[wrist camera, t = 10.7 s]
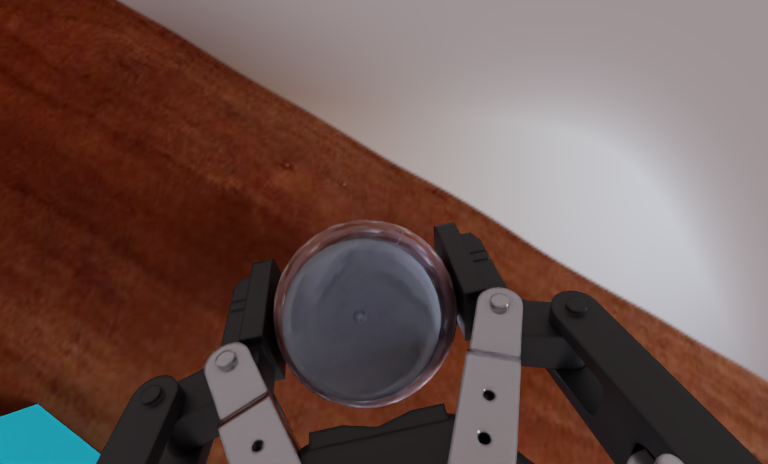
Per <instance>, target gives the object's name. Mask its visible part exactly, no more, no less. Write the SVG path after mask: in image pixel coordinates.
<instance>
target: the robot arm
mask: <svg viewBox="0 0 768 464" xmlns="http://www.w3.org/2000/svg"><path fill="white" fill-rule="evenodd" d="M434 240H435V252H436V253H437V254H438V255H439V257H440V258H441V259H442V261H443V263H444V265H445V266H446V268H447V270H448V272H449V274H450V276H451V279H452V282H453V285H454V289H455V293H456V299H457V314H458V315H457V320H458V323H459V325H460V328H461V331H462V333H463V336H464V339H465V341H467V340H471V341H470V347H469V350H467V353H466V357H465V363H464V369H463V375H462V381H461V387H460V393H459V399H458V405H457V411H456V414H450V413H446V409H445V406H444V403H443V404H439V405H434V406H429V407H425V408H420V409H416V410H411V411H409V412H407V413H405V414H403V415H401V416H399V417H397V418H395V419H393V420H391V421H389V422H387V423H385V424H383V425H381V426H378V427H365V426H344V425H342V426H338V427H333V428H328V429H324V430H319V431H315V432H310V433H309V444H308V445H306V446H304V447H303V448H301V446H300V445H299V443H298V441H297V439H296V437H295V435H294V433H293V431H292V429H291V427H290V425H289V422H288V420H287V418H286V416H285V414H284V412H283V410H282V408H281V406H280V404H279V402H278V400H277V398H276V396H275V394H274V382H275V381H277V380H281V379H285V368H286V361H285V360H284V358H283V356H282V354H281V351H280V349H279V347H278V344H277V340H276V335H275V330H274V322H273V309H274V298H275V294H276V289H277V286H278V283H279V280H280V277H281V272H280V270H279V267H278V265H277V263H276V261H275V259H268V260H264V261H259V262H254V263H253V264H252V268H251V274H250V277H249V278H244V279H241V280H240V282H239V283H238V285H237V286H236V287H235V289H234V290H233V295H232V299H231V304H230V308H229V313H228V317H227V321H226V326H225V330H224V335H223V339H222V344H221V347H220V348H218V349H217V350H215V351H214V352H213V353H212V354H211V355H210V357H209V358H208V359H207V361H206V363H205V367H204V368H203V369H202V370H200V371H198V372H196V373H194V374H192V375H190V376H188V377H186V378H184V379H182V380H180V381H178V382H177V381H176V380H175V379H174V378H173V377H171V376H168V375H162V376H158V377H155V378H153V379H150V380H149V381H147V382H146V383H144V384H143V385H142V386H140V387H139V388H138V389H137V390H136V392H135V393H134V394H133V396H132V397H131V399H130V401H129V403H128V404H127V406H126V408H125V410H124V412H123V414H122V416H121V418H120V419H119V421H118V423H117V425H116V427H115V429H114V431H113V433H112V434H111V436H110V438H109V440H108V442H107V444H106V446H105V447H104V449H103V451H102V453H101V455H100V457H99V459H98V461H97V462H96V464H206V461H207V458H208V455H209V452H210V449H211V446H212V443H213V440H214V438H216V437H218V436H220V437H221V440H222V444H223V447H224V450H225V453H226V456H227V459H228V462H229V464H534V463H532V462H531V461H530V460H529V459H527V458H526V457H525V456H524V455H522V454H521V453H520V452H518V451H517V440H518V419H519V397H520V376H521V366H530V367H541V368H546V370H547V371H548V372H549V374H550V375H551V377H552V378H553V379H554V381H555V382H556V383H557V385H558V386H559V387H560V389H561V390H562V392H563V393H564V394H565V396H566V397H567V398H568V400H569V401H570V403H571V404H572V405H573V407H574V408H575V409H576V411H577V412H578V414H579V415H580V416H581V418H582V419H583V420H584V422H585V423H586V424H587V426H588V427H589V429H590V430H591V431H592V433H593V434H594V435H595V437H596V438H597V440H598V441H599V442H600V444H601V445H602V446H603V448H604V449H605V450H606V452H607V453H608V455H609V456H610V457H611V459H612V460H613V461H614V463H615V464H762V463H761V462H760V461H759V460H758V459H756V458H755V457H754V456H753V455H752V454H751V453H750V452H749V451H748V450H747V449H746V448H745V447H744V446H743V445H742V444H741V443H740V442H739V441H738V440H737V439H736V438H735V437H734V436H733V435H732V434H731V433H730V432H729V431H728V430H727V429H726V428H725V427H724V426H723V425H722V424H721V423H720V422H719V421H718V420H717V419H716V418H715V417H714V416H713V415H712V414H711V413H710V412H709V411H708V410H707V409H706V408H705V407H704V406H703V405H702V404H701V403H700V402H699V401H698V400H697V399H695V398H694V397H693V396H692V395H691V394H690V393H689V392H688V391H687V390H686V389H685V388H684V387H683V386H682V385H681V384H680V383H679V382H678V381H677V380H676V379H675V378H674V377H673V376H672V375H671V374H670V373H669V372H668V371H667V370H666V369H665V368H664V367H663V366H662V365H661V364H660V363H659V362H658V361H657V360H656V359H655V358H654V357H653V356H652V355H651V354H650V353H649V352H648V351H647V350H646V349H645V348H644V347H643V346H642V345H641V344H640V343H639V342H638V341H637V340H635V339H634V338H633V337H632V336H631V335H630V334H629V333H628V332H627V331H626V330H625V329H624V328H623V327H622V326H621V325H620V324H619V323H618V322H617V321H616V320H615V319H614V318H613V317H612V316H611V315H610V314H609V313H608V312H607V311H606V310H605V309H604V308H603V307H602V306H601V305H600V304H599V303H598V302H597V301H596V300H595V299H593V298H592V297H591V296H589V295H587V294H585V293H582V292H578V291H564V292H561V293H558V294H557V295H555V296H554V297H553V299H552V301H551V302H536V301H528V300H524V299H521V298H520V297H519V296H518V295H517V294H516V293H515V292H513V291H511V290H509V289H507V287H506V285H505V284H504V282H503V280H502V278H501V276H500V275H499V273H498V271H497V269H496V267H495V266H494V264H493V262H492V260H491V259H490V257H489V255H488V253H487V251H486V249H485V248H484V246H483V244H482V242H481V240H480V239H478V238H477V237H476V236H474V235H473V234H471V233H465V234H461V235H460V233H459V231H458V229H457V227H456V225H455V224H454V222H452V223H447V224H442V225H437V226H434Z"/></svg>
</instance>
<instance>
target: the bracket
mask: <svg viewBox="0 0 768 464" xmlns="http://www.w3.org/2000/svg"><path fill="white" fill-rule="evenodd" d="M100 455H101V454H100V453H98V452H97V451H96V450H95V449H93V448H92V447H91V446H90V445H88V444H87V443H86V442H85V441H83V440H82V439H81V438H80V437H78V436H77V435H76V434H75V433H73V432H72V431H71V430H70V429H68V428H67V427H66V426H65V425H63V424H62V423H61V422H60V421H58V420H57V419H56V418H55V417H53V416H52V415H51V414H50V413H48V412H47V411H46V410H45V409H43V408H42V407H41V406H40V405H38V404H36V405H33V406H30V407H27V408H24V409H21V410H19V411H16V412H13V413H10V414H7V415H4V416H1V417H0V464H96V462H97V461H98V459H99V457H100Z"/></svg>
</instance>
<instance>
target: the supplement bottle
mask: <svg viewBox="0 0 768 464" xmlns="http://www.w3.org/2000/svg"><path fill="white" fill-rule="evenodd" d="M457 315H458V314H457V299H456V293H455V289H454V285H453V282H452V279H451V276H450V274H449V272H448V270H447V268H446V266H445V265H444V263H443V261H442V259H441V258H440V257H439V255H438V254H437V253H436V252H435V251H434V249H433V248H432V247H431V246H430V245H429V244H428V243H427V242H426V241H424V240H423V239H422V238H420V237H419V236H418V235H416V234H415V233H413V232H412V231H410V230H408V229H406V228H404V227H401V226H399V225H396V224H393V223H389V222H385V221H380V220H370V219H364V220H353V221H348V222H343V223H340V224H336V225H333V226H331V227H329V228H327V229H325V230H323V231H321V232H319V233H318V234H316V235H315V236H313V237H311V238H310V239H309V240H308V241H307V242H306V243H304V244H303V245H302V246H301V247H300V248H299V249H298V250H297V251H296V253H295V254H294V255H293V256H292V258H291V259H290V261H289V262H288V264H287V266H286V267H285V269H284V270H283V273H282V275H281V277H280V280H279V283H278V286H277V289H276V294H275V298H274V309H273V322H274V330H275V335H276V340H277V344H278V347H279V349H280V351H281V354H282V356H283V358H284V360H285V361H286V363H287V364H288V366H289V368H290V369H291V371H292V372H293V374H294V375H295V376H296V377H297V378H298V379H299V380H300V382H301V383H302V384H304V385H305V386H306V387H307V388H308V389H310V390H311V391H312V392H313V393H315V394H317V395H319V396H321V397H322V398H323V399H326V400H329V401H332V402H335V403H337V404H341V405H344V406H349V407H356V408H357V407H359V408H375V407H380V406H387V405H389V404H392V403H395V402H398V401H400V400H402V399H404V398H405V397H407V396H409V395H411V394H413V393H415V392H416V391H418V390H419V389H421V388H422V386H423V385H424V384H426V383H427V382H428V381H429V380H430V379H431V378H432V377H433V376H434V374H435V373H436V372H437V371H438V370H439V368H440V367H441V365H442V364H443V362H444V361H445V359H446V357H447V355H448V353H449V351H450V348H451V346H452V343H453V340H454V336H455V331H456V326H457Z"/></svg>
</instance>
